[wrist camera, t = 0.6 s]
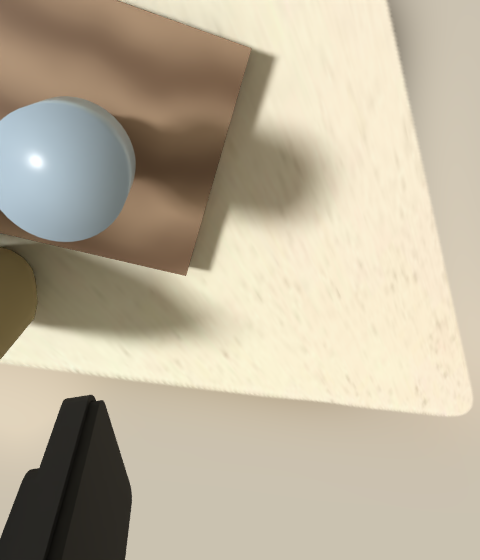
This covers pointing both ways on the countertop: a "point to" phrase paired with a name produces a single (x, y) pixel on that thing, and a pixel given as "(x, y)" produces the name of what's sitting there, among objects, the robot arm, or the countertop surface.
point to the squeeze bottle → (15, 297)
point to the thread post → (131, 110)
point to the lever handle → (64, 168)
